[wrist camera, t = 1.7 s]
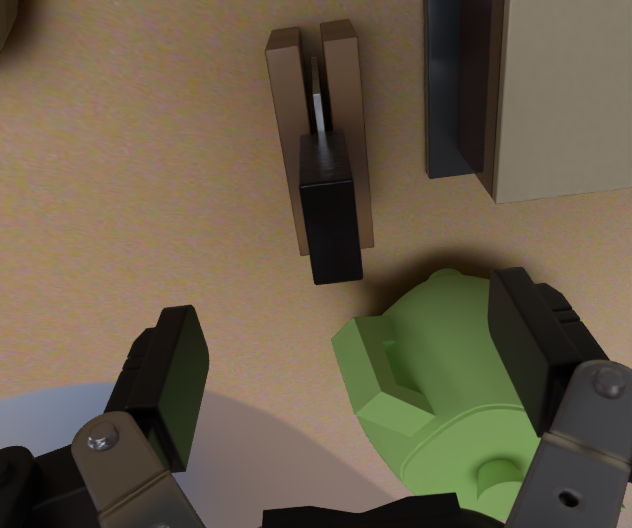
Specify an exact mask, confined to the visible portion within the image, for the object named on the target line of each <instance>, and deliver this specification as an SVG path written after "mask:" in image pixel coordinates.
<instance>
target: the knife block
mask: <svg viewBox="0 0 632 528" xmlns="http://www.w3.org/2000/svg"><path fill="white" fill-rule="evenodd" d="M320 29H321V37H322V46H323V55H324V63H325V72H326V80H327V89H328V98H329V106H330V115H331V124H332V131H335V130H343V131H344V134H345V139H346V144H347V149H348V154H349V159H350V164H351V169H352V174H353V178H354V187H355V197H356V207H357V218H358V228H359V238H360V249H365V248H373V247H374V236H373V224H372V211H371V199H370V186H369V173H368V161H367V148H366V136H365V123H364V111H363V98H362V86H361V73H360V60H359V48H358V37H357V35H356V33H355V31H354V29H353V28H352V26H351V24H350V22H349V20H348V19H347V20H340V21H333V22H326V23H321V24H320ZM265 55H266V61H267V67H268V73H269V78H270V84H271V90H272V96H273V101H274V107H275V113H276V119H277V124H278V130H279V136H280V142H281V147H282V153H283V159H284V165H285V170H286V176H287V182H288V187H289V193H290V199H291V205H292V210H293V216H294V222H295V228H296V233H297V239H298V245H299V251H300V255H301V256H306V255H309V249H308V243H307V237H306V231H305V225H304V219H303V212H302V206H301V200H300V194H299V188H298V184H299V141H300V136H301V135H305V134H312V133H314V130H313V122H312V115H311V108H310V100H309V93H308V85H307V78H306V71H305V63H304V56H303V49H302V41H301V34H300V28H299V27H292V28H286V29H279V30H272V31H271V34H270V37H269V40H268V43H267V46H266V49H265Z"/></svg>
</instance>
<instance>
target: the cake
mask: <svg viewBox="0 0 632 528" xmlns="http://www.w3.org/2000/svg"><path fill="white" fill-rule="evenodd" d="M423 9H424V81H425V153H426V173H427V175H428V177H429V179H434V178H441V177H449V176H457V175H465V174H473V173H474V174H475V175H476V177H477V178H478V179H479V181H480V182H481V184H482V185H483V186H484V188H485V189H486V191H487V192H488V193H489V195H490V196H491V198H492V199H493V201H494V202H495V203H496V204H504V203H512V202H520V201H528V200H536V199H544V198H552V197H560V196H568V195H576V194H584V193H592V192H600V191H608V190H616V189H624V188H632V0H423Z"/></svg>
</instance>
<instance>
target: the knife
mask: <svg viewBox="0 0 632 528" xmlns="http://www.w3.org/2000/svg"><path fill="white" fill-rule="evenodd" d="M311 70H312V89H313V100H314V108H315V115H316V123H317V130H318V133H312V134H305V135H301V136H300V141H299V184H298V188H299V194H300V200H301V206H302V212H303V219H304V225H305V231H306V237H307V243H308V249H309V255H310V262H311V268H312V274H313V280H314V284H315V285H322V284H331V283H339V282H348V281H356V280H362V279H363V269H362V259H361V249H360V238H359V228H358V218H357V207H356V197H355V187H354V178H353V174H352V169H351V164H350V159H349V154H348V149H347V144H346V139H345V134H344V131H343V130H335V131H327V132H326V128H325V120H324V112H323V104H322V96H321V88H320V80H319V71H318V63H317V57H313V58H311Z"/></svg>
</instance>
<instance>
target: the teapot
mask: <svg viewBox="0 0 632 528" xmlns="http://www.w3.org/2000/svg"><path fill="white" fill-rule="evenodd" d="M489 284H490V280H489V279H484V278H480V277H474V276H467V275H462V274H461V273H460V272H459V271H457V270H455V269H451V268H445V269H440V270H438V271H436V272H434V273H433V274H432V275H431V276H430V277H429V278H428V280H427V281H425V282H423V283H421V284H419V285H418V286H416V287H415V288H413V289H412V290H410V291H409V292H408V293H406V294H405V295H404V296H403V297H401V298H400V299H399V300H398V301H397V302H395V303H394V304H393V305H392V306H391V307H390V308H389V309H388V310H387V311H386V312H385V313H384V314H382V316H368V317H353V318H352V319H351V320H350V321H349V322H348V323H347V324H346V325H345V326H344V327H343V328H342V329H341V330H340V331H339V332H338V333H337V334H336V335H335V336H334V337H333V338H332V339H331V342H332V345H333V348H334V351H335V354H336V357H337V360H338V364H339V367H340V370H341V373H342V376H343V379H344V383H345V386H346V389H347V392H348V395H349V398H350V402H351V405H352V408H353V411H354V414H355V415H357V418H358V420H359V422H360V424H361V426H362V428H363V430H364V432H365V434H366V436H367V437H368V439H369V440H370V442H371V443H372V445H373V446H374V448H375V449H376V451H377V452H378V453H379V455H380V456H381V457H382V459H383V460H384V461H385V463H386V464H387V465H388V467H389V468H390V469H391V470H392V472H393V473H394V474H395V475H396V476H397V478H398V479H399V480H400V481H401V482H402V483H403V484H404V485H405V486H406V488H407V489H408V490H410V491H411V492H412V493H413V494H414V495H416V496H420V495H430V494H441V493H451V492H456V494H457V498H458V501H459V505H460V508H465V509H470V510H474V511H477V512H481V513H483V514H486V515H488V516H491V517H493V518H495V519H497V520H506V519H507V518H508V516H509V514H510V511H511V509H512V506H513V504H514V502H515V499H516V497H517V495H518V492H519V490H520V487H521V485H522V483H523V480H524V478H525V476H526V473H527V471H528V469H529V466H530V464H531V461H532V459H533V457H534V454H535V452H536V450H537V447H538V445H539V442H540V440H541V438H538V437H537V435H536V433H535V431H534V429H533V427H532V425H531V422H530V420H529V418H528V416H527V414H526V412H525V410H524V407H523V405H522V403H521V401H520V399H519V397H518V394H517V392H516V390H515V388H514V386H513V384H512V382H511V379H510V377H509V375H508V373H507V371H506V369H505V367H504V364H503V362H502V360H501V358H500V356H499V354H498V352H497V349H496V347H495V345H494V343H493V341H492V338H491V336H490V332H489V327H488V318H487V315H488V299H489ZM624 509H626V508H625V507H624V505H623V503H622V507H621V511H623V510H624ZM621 511H620V512H621Z"/></svg>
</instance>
